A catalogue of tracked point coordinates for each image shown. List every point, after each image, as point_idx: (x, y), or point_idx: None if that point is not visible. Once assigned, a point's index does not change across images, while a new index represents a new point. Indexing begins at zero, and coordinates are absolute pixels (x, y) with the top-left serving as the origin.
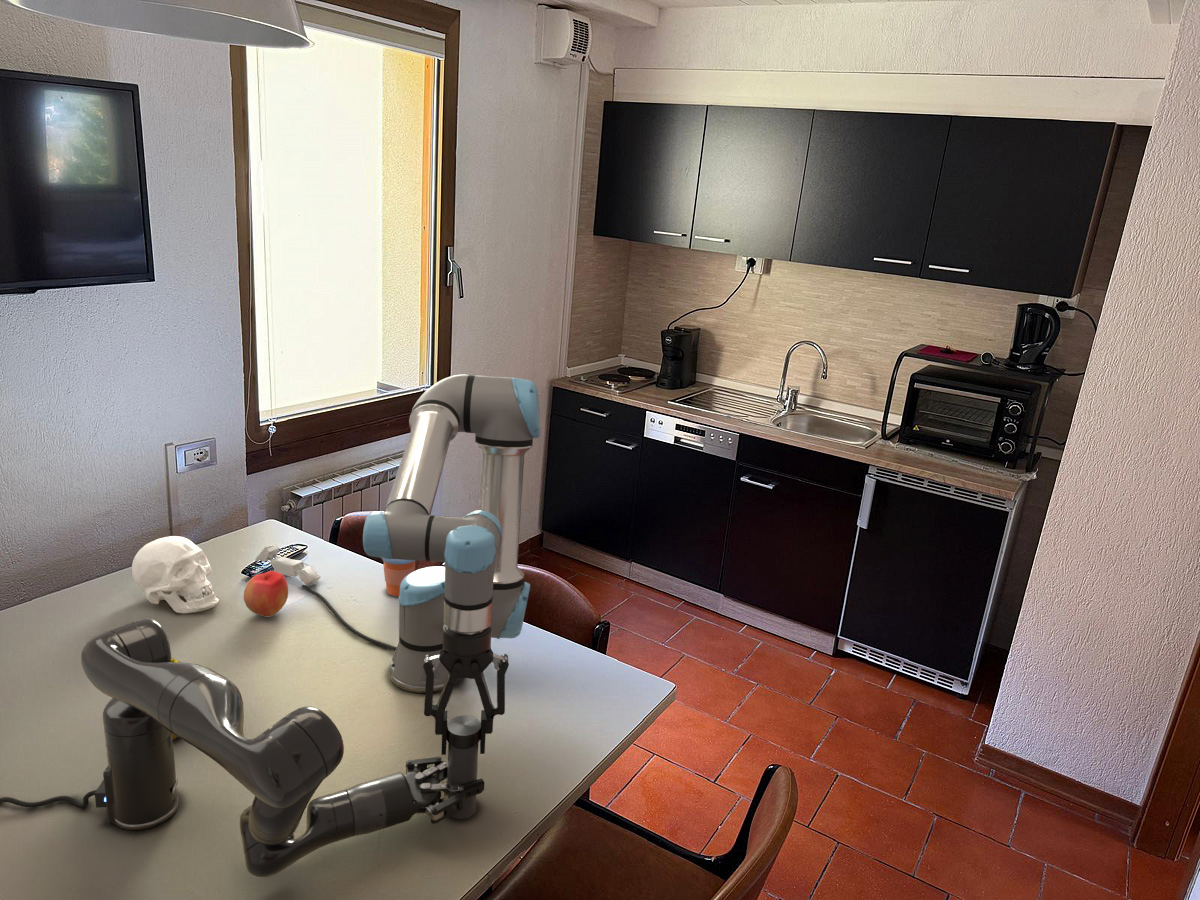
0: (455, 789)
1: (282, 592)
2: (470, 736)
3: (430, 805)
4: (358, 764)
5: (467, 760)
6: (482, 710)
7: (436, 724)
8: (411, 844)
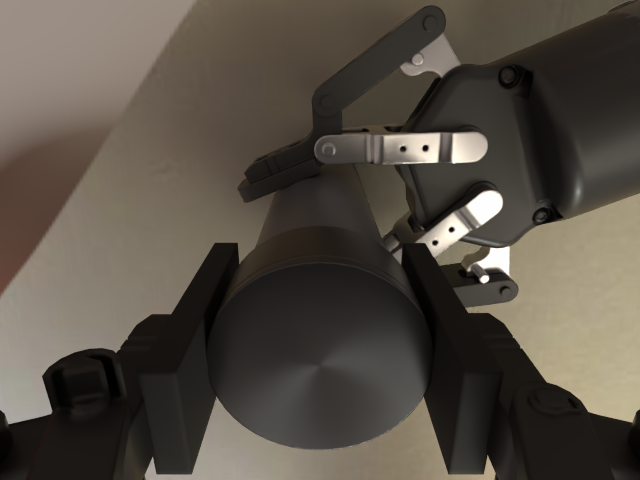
0: (345, 140)
1: None
2: (273, 263)
3: (440, 70)
4: (575, 357)
5: (298, 210)
6: (183, 470)
7: (520, 360)
8: (461, 52)
